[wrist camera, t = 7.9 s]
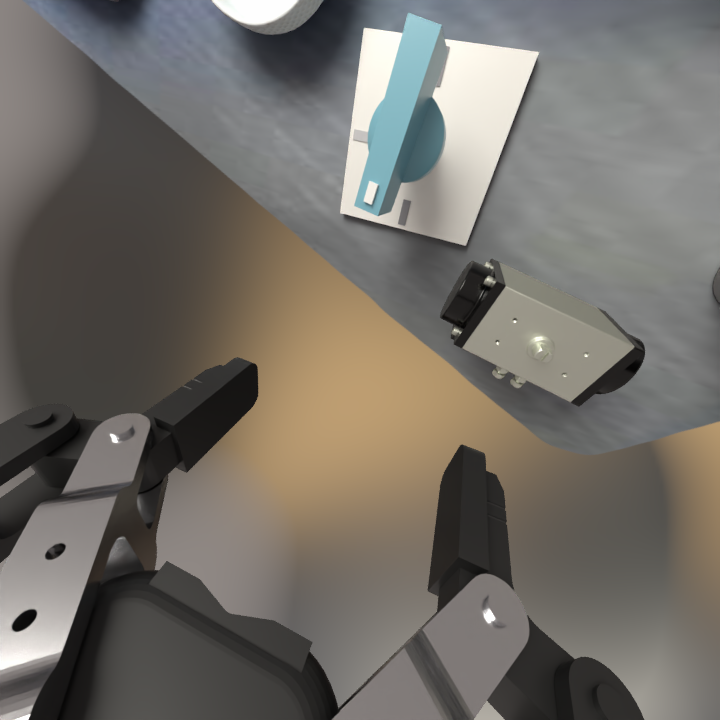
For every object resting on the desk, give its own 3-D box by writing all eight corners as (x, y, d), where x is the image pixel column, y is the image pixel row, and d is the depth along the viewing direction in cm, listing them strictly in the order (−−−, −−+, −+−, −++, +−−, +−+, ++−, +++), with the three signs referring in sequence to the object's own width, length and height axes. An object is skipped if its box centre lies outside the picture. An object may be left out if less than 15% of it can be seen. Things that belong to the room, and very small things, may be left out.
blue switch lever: (402, 46, 26) (375, -1, 19) (474, 74, 25) (474, 35, 18) (360, 193, 33) (330, 196, 26) (416, 217, 32) (400, 227, 25)
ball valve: (442, 296, 43) (425, 352, 29) (474, 240, 38) (472, 275, 24) (554, 350, 42) (595, 437, 27) (602, 300, 37) (683, 375, 22)
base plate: (536, 56, 28) (553, 22, 22) (466, 244, 39) (464, 255, 33) (367, 32, 32) (341, -3, 25) (343, 212, 42) (320, 217, 36)
